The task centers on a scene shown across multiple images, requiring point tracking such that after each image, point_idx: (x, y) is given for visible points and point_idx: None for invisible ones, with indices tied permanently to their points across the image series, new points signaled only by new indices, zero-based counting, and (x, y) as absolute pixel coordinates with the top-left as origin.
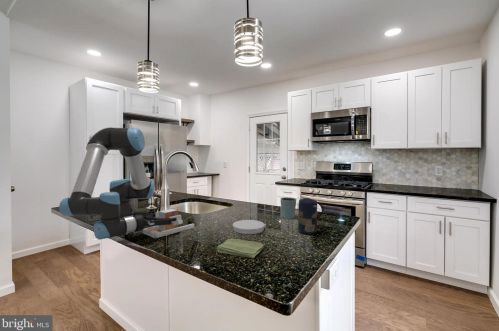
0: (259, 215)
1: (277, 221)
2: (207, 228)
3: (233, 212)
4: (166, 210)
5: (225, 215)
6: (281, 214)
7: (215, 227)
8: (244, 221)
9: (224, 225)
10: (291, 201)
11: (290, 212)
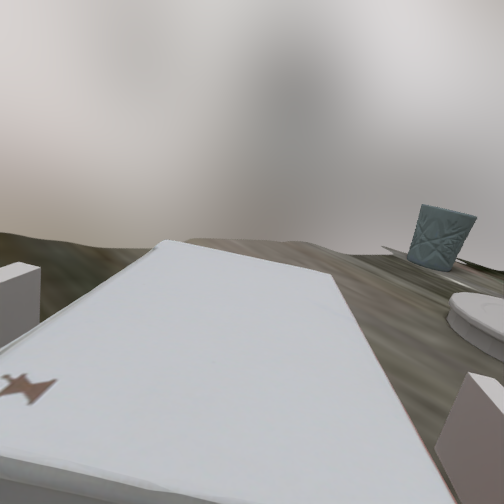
0: (359, 257)
1: (458, 284)
2: (416, 391)
3: (263, 242)
4: (171, 304)
5: (269, 258)
6: (424, 256)
7: (421, 365)
8: (479, 306)
9: (409, 334)
10: (475, 219)
11: (458, 252)
